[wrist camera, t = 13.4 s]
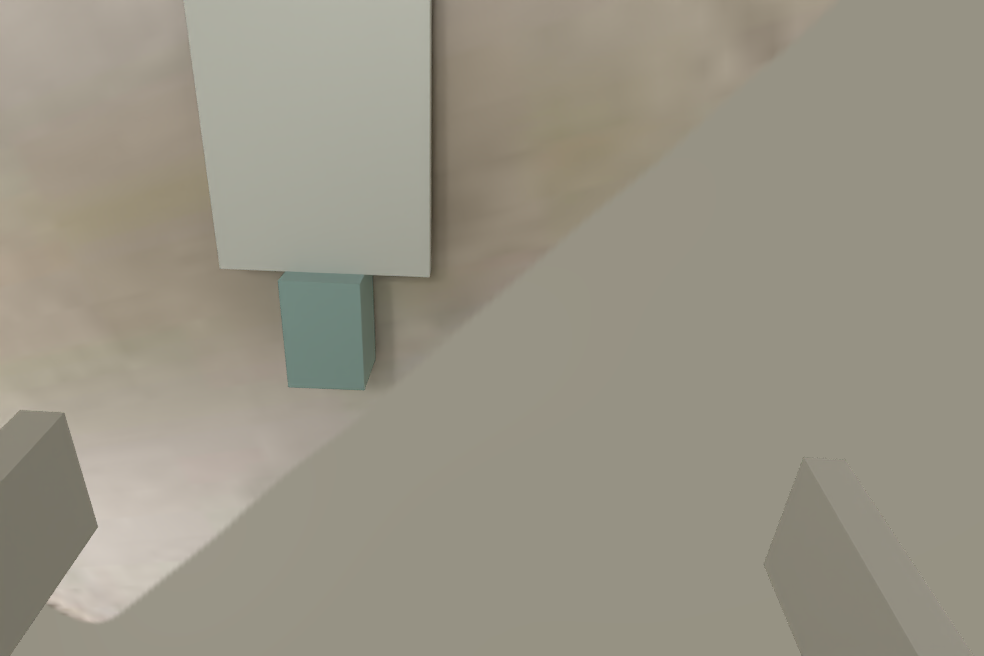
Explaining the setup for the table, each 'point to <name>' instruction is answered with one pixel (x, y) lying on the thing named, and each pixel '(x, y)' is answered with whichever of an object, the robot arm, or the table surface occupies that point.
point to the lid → (318, 160)
